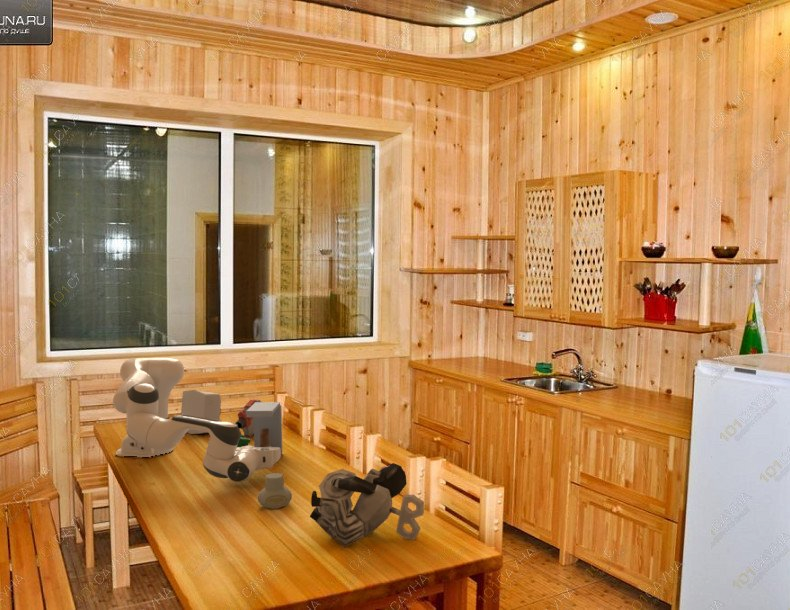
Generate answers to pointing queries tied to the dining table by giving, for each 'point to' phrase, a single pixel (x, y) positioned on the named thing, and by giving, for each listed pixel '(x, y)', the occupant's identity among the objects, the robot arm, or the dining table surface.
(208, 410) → the electrical switch box
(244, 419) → the toy gun
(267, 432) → the peg
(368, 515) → the toy
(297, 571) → the dining table surface
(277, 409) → the gray cantilever bracket
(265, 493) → the air freshener
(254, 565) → the dining table surface
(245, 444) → the clamp
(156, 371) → the robot arm
